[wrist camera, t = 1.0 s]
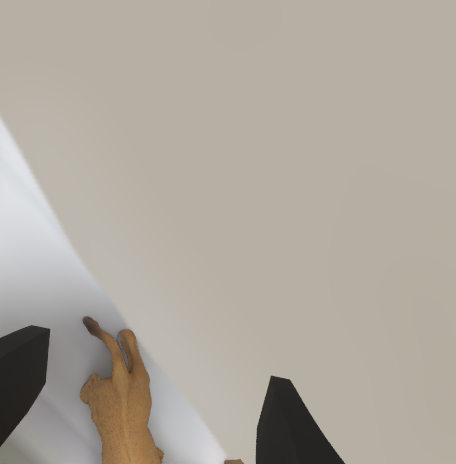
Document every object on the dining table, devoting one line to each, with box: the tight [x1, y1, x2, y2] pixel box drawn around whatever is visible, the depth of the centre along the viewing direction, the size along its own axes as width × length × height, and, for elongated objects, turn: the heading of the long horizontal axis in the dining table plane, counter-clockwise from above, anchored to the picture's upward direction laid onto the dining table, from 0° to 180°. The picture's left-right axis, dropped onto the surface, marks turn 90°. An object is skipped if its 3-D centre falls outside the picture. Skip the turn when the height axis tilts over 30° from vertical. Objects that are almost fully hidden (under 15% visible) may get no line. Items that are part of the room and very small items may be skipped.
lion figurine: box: [80, 317, 163, 464], centre depth 21 cm, size 15×5×9 cm, turn 22°
